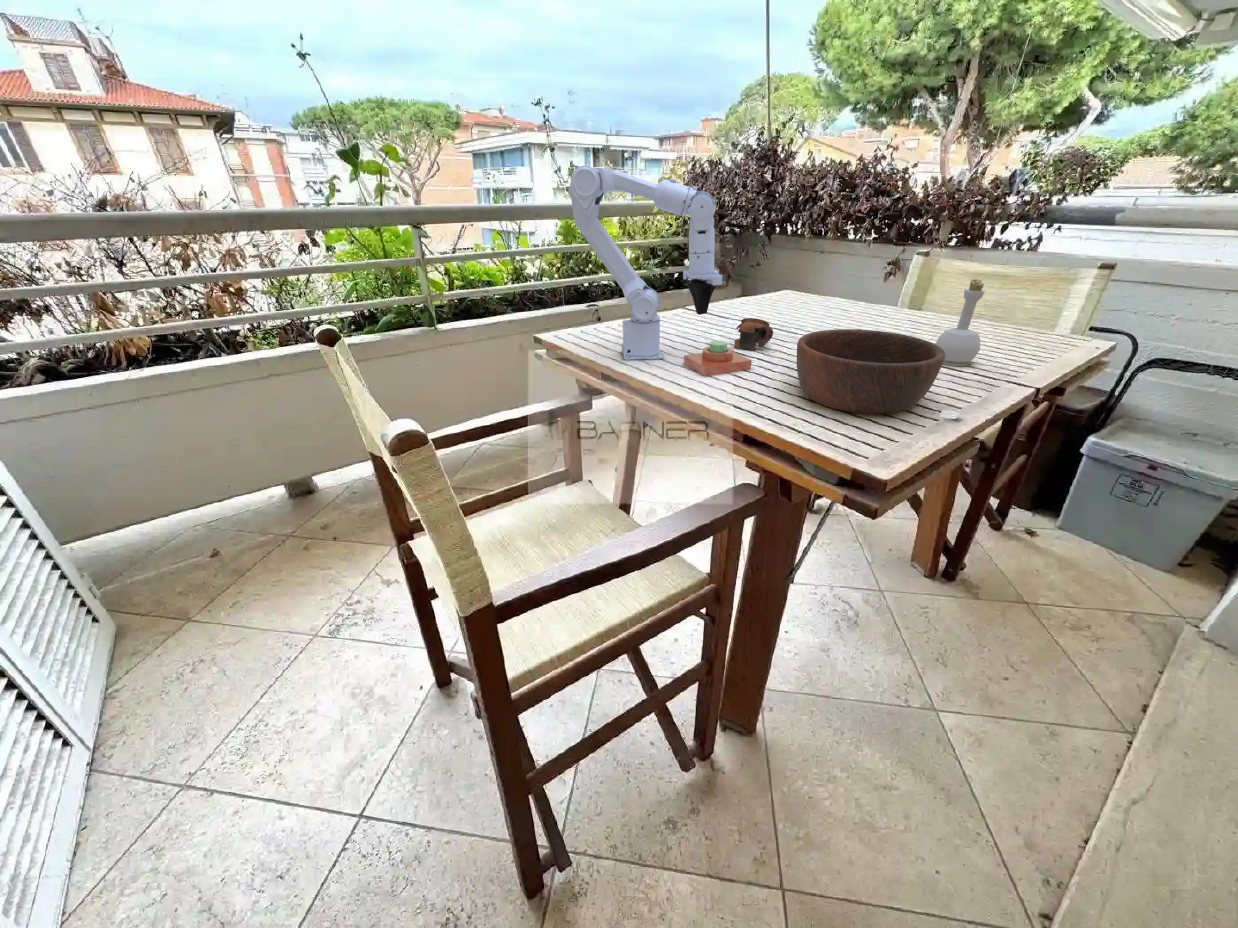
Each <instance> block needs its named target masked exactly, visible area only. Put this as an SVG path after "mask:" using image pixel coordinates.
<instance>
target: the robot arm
mask: <svg viewBox="0 0 1238 928" xmlns="http://www.w3.org/2000/svg"><path fill="white" fill-rule="evenodd" d="M697 190H698V186H696V185H693V186H692V187H691V186H687V185H686V184H685V185H684V184H681V183H679V182H677V179H676V178H674V177H673V178H672V177H670V178H669V180H668V179H663V180H661V181H660V182H658V183H655V182H651V181H648V180H647V179H646V180H645V179H643V178H640V177H637V176H635V175H632V174H628V173H626V172H623V171H620V170H617V169H611V168H604V167H596V166H595V167H594V166H593V167H592V166H590V165H587V164H586V165H585V164H584V165H580V166H578V167H577V168H575V169H574V171H573V172H572V174H571V178H570V182H569V188H568V194H569V197H570V199H571V207H572V214H573V220H574V221H573V222H574V225H575V226H576V228H577V229H578V231H579V232H580V233H581V235H582V236H583V237H584V239H585V240H586V242H587V243H588V245H589V246H590V247H591V249H592V250H593V251H594V253H595V254H596V256H597V257H598V259H600V261H601V262H602V264H603V265H604V267H605V268H606V269H607V271H608V272H609V274H610V275H611V276H612V278H613V279H614V280H615V282H616V283H617V284H618V286H619V287H620V288H621V291H622V293H623V296H624V299H625V300H626V302H627V303H628V305H629V308H630V313H631V316H630V319H625V320H622V343H621V351H622V353H623V360H625V361H626V360H627V361H628V360H629V361H630V360H662V359H663V355H662V351H661V349H660V343H661V342H660V339H661V338H660V337H661V336H660V333H661V317H660V315H659V314H658V313H657V312H658V308H659V306H660V302H661V300H660V296H659V294H658V292H657V291H656V290H655V289H653V288H652V287H650V286H648V285H647V283H646V282H645V281H644V280H643V278H641V277H640V276H639V275H638V273H637V272H636V271H635V269H634V268H633V266H632V265H631V263H630V261H628V258H626V256H625V255H624V254H623V252H622V251H621V249H620V248H619V246H618V245H617V243H616V242H615V241H614V239H613V237H612V236H611V235H610V233H609V232H608V230H607V229H606V228H605V226H604V225H603V224H602V222H601V221H600V219H599V211H600V206H601V205H600V204H601V201H602V199H603V198H604V195H605V193H608V194H609V193H613V192H617V191H621V192H624V193H628V194H632V195H635V196H639V197H642V198H646V199H649V200H652V201H653V203H654V206H655V207H656V209H657V210H661V211H664V212H668V213H671V214H674V215H677V216H680V217H685V216H687V215H688V216H689V230H688V269H686V270H683V272H682V277H683V280H690V281H691V282H690V283H687V284H686V287H687V289H688V291H689V292H690V295H691V298H692V301H693V305H694V308H695V313H696V314H697V315H699V316H700V315H701V316H702V315H707V314H708V310H709V305H710V301H711V298H712V295H713V293H714V291H715V289H716V287H717V286H720V285H723V274H719V270H715V251H716V250H715V249H716V248H715V247H716V245H715V242H716V236H715V235H716V229H715V218H714V215H715V213H716V210H717V205H716V201H715V198H714V196H713V195H712V194H711V193H709V192H707V191H705V190H699V191H697Z"/></svg>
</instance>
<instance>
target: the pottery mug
mask: <svg viewBox="0 0 1238 928" xmlns="http://www.w3.org/2000/svg"><path fill="white" fill-rule="evenodd" d="M740 322H741V323H740V324H739V325H737V327H736V328H735V329H736V330H738V331H737V333H739V338H736V339H734V348H735V349H736V348H737V349H739V348H740V349H745V350H749V351H755V349H756V346H757V345H758V347H759V348H763V347H765V345H767V344H768V343H769V342H770V341H771V339H772V338H773V336H774V330H773V328H772V327H771V325H770V323H769V322H768V321H766V320H764V319H760V318H756V317H746V318H742V319H741V320H740Z"/></svg>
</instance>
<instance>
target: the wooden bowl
mask: <svg viewBox="0 0 1238 928" xmlns="http://www.w3.org/2000/svg"><path fill="white" fill-rule="evenodd" d="M944 360H945V352H944V350H943V349H942V348H940V347H939V346H937V345H936V344H935V343H934V342H931V341H929V340H927V339H922V338H920V337H916V336H911V335H907V334H902V333H896V332H891V331H882V330H873V329H860V328H859V329H856V328H855V329H853V328H845V329H844V328H842V329H841V328H839V329H837V328H835V329H824V330H818V331H813V332H809V333H807V334H804V335H802V336H801V337H800V338H799V339H798V341H797V345H796V373H797V378H798V382H799V385H800V387H801V390H802V391H803V393H804V394H805V396H806V397H808V398H809V399H810V400H812V401H813V402H816V403H817V404H819V405H821V406H824V407H826V408H830V409H833V410H838V411H842V412H845V413H851V414H852V413H853V414H862V415H891V414H897V413H898V414H899V413H902V412H904V411H907V410H909V409H912V408H913V407H915V405H917V404H918V403H920V401H921V400H922V399H923V398H924V397H925V396H926V395H927V394H928V392H929V391H930V389H931V388H932V386H933V384H934V382H935V381H936V379H937V377H938V375H939V373H940V371H941V368H942V367H943V365H944V364H943V362H944Z"/></svg>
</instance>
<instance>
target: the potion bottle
mask: <svg viewBox="0 0 1238 928" xmlns="http://www.w3.org/2000/svg"><path fill="white" fill-rule="evenodd" d="M984 286H985V283H983V282H982V280H981V279H977V278H976V279H975V278H973V279H971V280H970V283H969V287H968V288H967V289H964V291H963V299H964V304H963V307H962V311H961V313H960V317H959V320H958V323H957V326H956V327H953V328H948V329H945V330H944V331H943V332H942V333H941V334H940V335H939V337H938V338H937V340H936V341H935V343H934V344H936V345H937V346H939V347H940V348H942V349H943V350H944V352H945V360H944V362H943V365H946V366H952V367H953V366H954V367H967V366H969V365H970V364H971V361H973V360H974V359H975V358H976V357H977V355H978V353H979V352H980V351H981V338H980V335H979V333H978V332H977V331H975V330H971V329H970V328H969V327H970V324H971V321H972V318H973V315H974V312H975V309H976V306H977V303H978V302H979V301H980V300H981V299H982V298H983V297H984V294H985V292H986V290H983V288H984Z"/></svg>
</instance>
